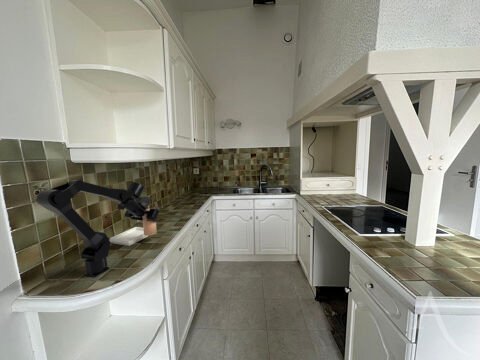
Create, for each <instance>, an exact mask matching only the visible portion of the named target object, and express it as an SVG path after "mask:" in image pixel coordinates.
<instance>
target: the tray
mask: <svg viewBox="0 0 480 360" xmlns="http://www.w3.org/2000/svg"><path fill="white" fill-rule="evenodd" d="M147 237H148V236H145V235H144V230H143V227H142V226H141V227H139V226H135V227H132V228H130V229H127V230H126V231H123V232H121V233H119V234H116V235H114V236H111V237H109V238H110V239H109V240H110V242H111V244H115V245H121V246H127V247H128V246H131V245H134V244H136V243H138V242H139V241H141V240H143V239H145V238H147Z"/></svg>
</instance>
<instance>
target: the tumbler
mask: <svg viewBox="0 0 480 360" xmlns="http://www.w3.org/2000/svg"><path fill="white" fill-rule="evenodd" d="M150 209H151V208H147V209H146V210H148V211H149V210H150ZM146 216H147V215H144V216H143V217H142V220H143V221H142V226H143V227H142V228H143V230H144V235H145V236H147V237H150V236H153V235H157V233H158V232H157V221H156V222H151V221H147V219H146Z"/></svg>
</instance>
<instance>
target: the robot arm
mask: <svg viewBox="0 0 480 360" xmlns="http://www.w3.org/2000/svg"><path fill="white" fill-rule="evenodd" d="M144 191H145V186H144V185H143V184H141V183H138V182H136V181H131V184H130V186H128V189H124V188H109V187H105V186H101V185H99V184H94V183H91V182H86V181H83V180H80V179H72V180H68V181H67V182H65V183H62V184H60V185H57V186H54V187H52V188H50V189H43V190H41V191H40V192H38V194H37V195H36V199H35V200H36V202H37V204H39V205H40V206H41V207H42V208H45V209H46V210H47V211H49V212H52V213H54V214H56V215H57V216H59V218H60V219H61V220H63V221H64V222H65V223H66V224H67V225H68V226H69V227H70V228H71V229H72V230H73V231H74V232H75V234H77V235H78V236H79V237H80V238H81V239H82V241H83V245H84V249H82V252H81V253H80V258H81V259H82V260H84V265H85V272H84V273H83V275H84V276H88V277H92V278H96V277H98V276H99V275H101V274H104V273H105V272H106V271H108V270H109V269H111V268H110V267H109V266H108V265H109V264H108V258H107V257H109V253H110V248H111V244H112V243H111V242H110V240H109V239H110V238H111V237H108V236H107V234H106V233H105V232H104V231H103V232H102V231H95V229H93V227H92V226H90V224H88V223H87V221H85V220H84V219H83V217H82V216H81V214H79V213H78V212H77V211H76V210H75V209H74V207H73V201H72V199H73V198H74V197H76V195H78V193H80V192H81V193H85V194H89V195H94V196H99V197H103V198H105V199H106V200H109V201H111V202H118V204H117V208H116V209H117V210H119V211H120V210H121V211H122V210H123V211H124V210H126V211H125V212H124V217H125V219H129V220H130V219H131V220H136V221H141V222H143V220H142V217H143V216H144V215H147V216H146V219H147V221H151V222H156V223H157V222H158V220H157V218H158V215H160V214H159V213H160V211H161V210H159V208H155V207H150V208H149V207H148V206H149V205H150V204H151V203H152V199H151V198H150V196H141V195H142V194H143V192H144ZM146 209H150V210H149V211H148V210H146Z"/></svg>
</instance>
